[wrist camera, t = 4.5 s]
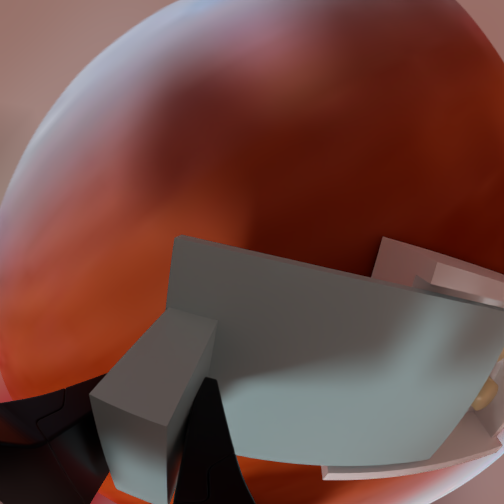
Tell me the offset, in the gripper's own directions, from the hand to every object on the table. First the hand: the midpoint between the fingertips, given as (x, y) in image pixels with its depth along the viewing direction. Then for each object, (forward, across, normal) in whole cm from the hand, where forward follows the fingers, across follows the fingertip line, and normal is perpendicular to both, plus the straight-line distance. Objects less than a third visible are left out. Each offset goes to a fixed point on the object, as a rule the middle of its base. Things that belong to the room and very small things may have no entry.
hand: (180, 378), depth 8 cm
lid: (+1, -6, 0) cm, 6 cm away
